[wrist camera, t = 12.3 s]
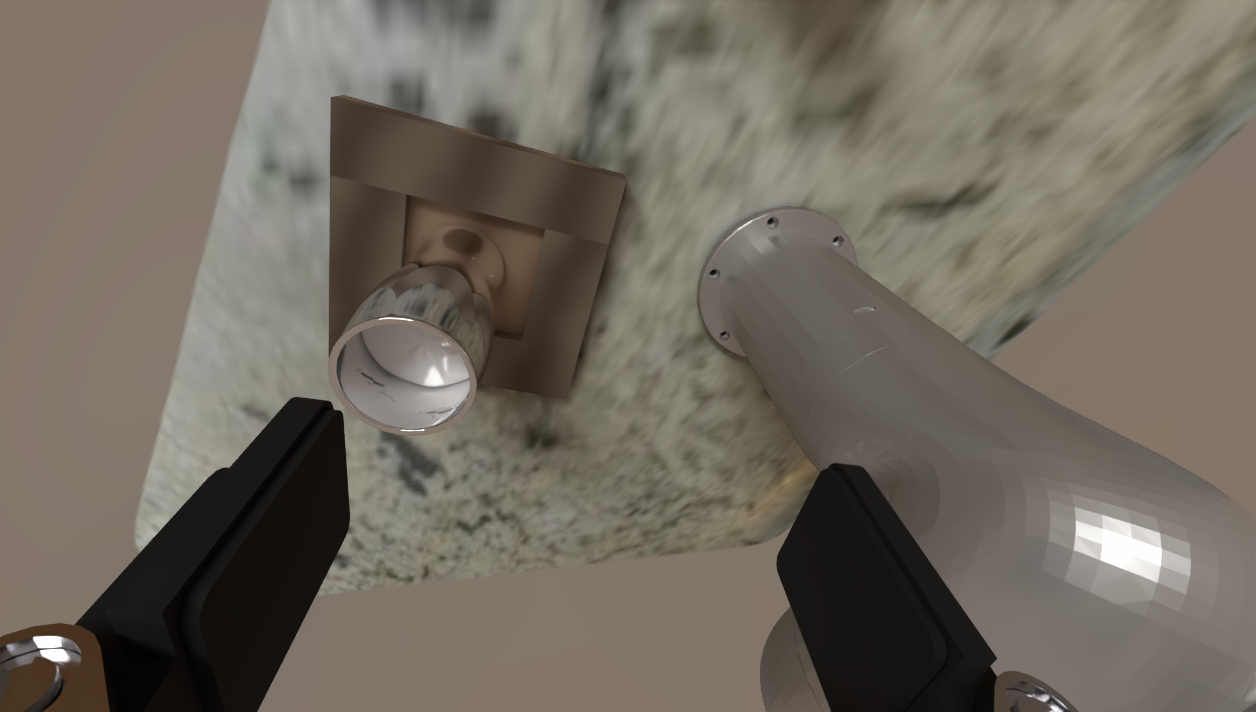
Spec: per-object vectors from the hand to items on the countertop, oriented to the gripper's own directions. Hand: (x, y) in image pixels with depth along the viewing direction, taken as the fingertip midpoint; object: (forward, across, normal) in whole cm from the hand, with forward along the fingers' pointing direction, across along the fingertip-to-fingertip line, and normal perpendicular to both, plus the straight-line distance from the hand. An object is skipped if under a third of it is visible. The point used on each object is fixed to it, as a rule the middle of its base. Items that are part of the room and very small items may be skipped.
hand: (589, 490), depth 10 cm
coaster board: (+29, +7, +7) cm, 31 cm away
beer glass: (+28, +8, +7) cm, 30 cm away
